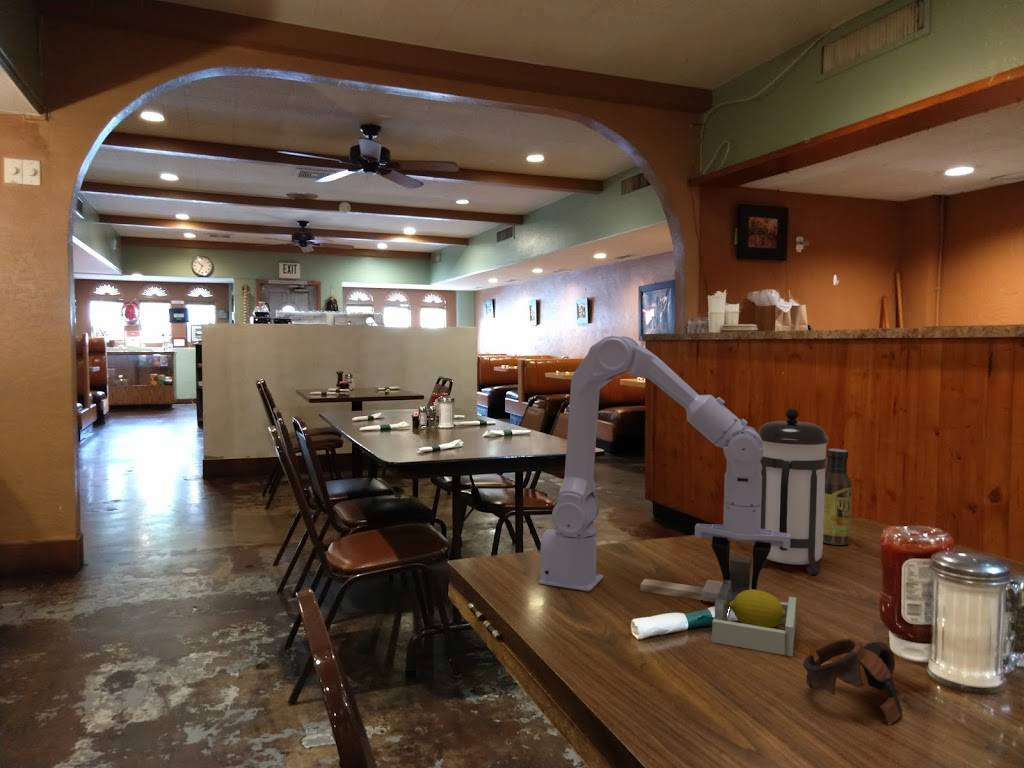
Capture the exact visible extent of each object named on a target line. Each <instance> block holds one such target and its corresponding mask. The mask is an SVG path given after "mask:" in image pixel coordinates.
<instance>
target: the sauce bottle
mask: <svg viewBox="0 0 1024 768" xmlns="http://www.w3.org/2000/svg"><path fill="white" fill-rule="evenodd" d="M826 457H827V467H826V470H827V471H825V494H824V524H823V544H824V543H825V544H829V545H834V546H843V545H844V546H845V545H848V544H849V542H850V536H851V519H852V503H853V483H852V479H851V478H850V476H849V474H848V473H847V471H848V469H847V467H848V459H849V450H846V449H842V448H828V449H827V450H826Z"/></svg>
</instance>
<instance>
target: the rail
mask: <svg viewBox="0 0 1024 768" xmlns="http://www.w3.org/2000/svg"><path fill="white" fill-rule="evenodd" d="M703 588H704V586H698V585H697V586H696V585H689V584H682V583H676V582H671V581H670V582H669V581H661V580H657V579H651V578H650V579H649V578H644V579H643V580H642V582H640V587H639V589H640V592H645V593H651V594H658V595H663V596H668V597H669V596H670V597H676V598H682V597H683V598H682V599H688V598H689V600H694V599H695V600H696V601H701V600H703V601H702V602H707V601H710V602H709V603H714V602H715V601H716V598H712V597H705V596H702V590H703Z"/></svg>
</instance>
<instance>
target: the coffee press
mask: <svg viewBox="0 0 1024 768" xmlns="http://www.w3.org/2000/svg"><path fill="white" fill-rule="evenodd" d="M785 416H786V418H787V420H776V421H769V422H766V423H764V424H763V425H761V426H760V427H759V429H758V432H757V433H758V434H759V435H760V437H761V439H762V442H763V450H764V454H763V457H762V459H761V460H760V463H761V465H762V470H761V472H760V474H761V475H762V499H761V529H766V530H771V531H776V532H782V533H789V534H790V548H789V549H788V548H783V547H781V546H773V545H771V549H770V553H769V555H768V556H767V558H766V560H765V562H764V564H763V566H762V568H764V567H765V566H766V564H767V563H768V562H772V561H773V562H775V563H776V562H777V563H781V564H785V565H787V564H788V565H800V566H802V567H803V568H804V569H805V570H806V572H807V574H808V575H809V576H816V575H819V574H820V569H819V567H818V565H817V562H821V561H822V558H823V557H822V556H823V547H824V545H823V544H824V542H823V524H824V494H825V474H826V469H827V467H828V456H827V445H828V443H829V440H830V439H829V436H827V434H826V431H825V429H823V428H822V427H821V426H820V425H818V424H815V423H812V422H807V421H800V420H799V421H798V420H797V419H798V418H799V416H800V414H799V411H798V410H797V409H796V408H793V407H792V408H789V409H787V410H786V412H785Z"/></svg>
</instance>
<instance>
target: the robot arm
mask: <svg viewBox="0 0 1024 768" xmlns="http://www.w3.org/2000/svg"><path fill="white" fill-rule="evenodd" d="M626 373H628V375H629V376H633V377H638V378H643V379H648V380H649V381H651V382H652V384H654V385H656V386H657V387H658V388H660V390H662V391H663V392H664V393H665V394H667V395H668V396H669V397H671V399H673V400H674V401H675V402H676V403H677V404H679V405H680V406H681V407H683V408H684V409H685V412H686V421H687V422H688V423H689V424H690V425H691V426H692V427H694V428H695V430H697V431H698V432H699V433H700V434H702V436H704V438H706V439H707V440H708V441H710V442H711V443H712V444H714V445H713V446H715V447H717V448H718V447H719V448H722V449H723V454H724V457H725V460H726V468H725V469H726V470H725V471H726V472H725V473H724V483H723V484H724V485H723V491H724V492H723V524H719V523H718V524H717V523H715V524H714V523H710V524H709V523H699V522H698V523H696V524H695V526H694V538H696V539H702V538H705V539H707V538H708V539H712V541H711V548H712V551H713V552H714V555H715V558H716V559H717V562H718V565H719V568H720V570H721V574H722V582H723V581H724V580H730V552H731V542H733V541H734V542H740V543H750V544H754V545H753V547H752V574H751V590H758V589H757V587H758V580H759V576H760V573H761V572H762V568H763V567H762V566H763V564H764V562H765V560H766V558H767V556H768V555H769V553H770V549H771V545H773V546H781V547H783V548H788V549H789V548H790V534H789V533H782V532H776V531H771V530H766V529H761V499H762V475H761V474H760V472H761V470H762V465H761V463H760V460H761V459H762V457H763V454H764V450H763V442H762V439H761V437H760V435H759V434H758V432H757V430H756V428H754V427H752V426H748V425H747V424H748V421H747V420H746V419H745V418H742V419H740V418H738V416H737V415H735V414H734V413H733V412H732V411H731V410H730V409H728V408H727V407H726V406H725V405H724V404H725V400H724V399H723V398H721V397H720V396H718V397H717V398H715V397H714V396H713V395H712V394H698V392H697V391H696V390H694V389H693V388H692V387H691V386H690V385H689V384H688V383H687V382H685V381H684V380H683V378H681V377H680V375H678V374H677V373H676V372H675V371H674V370H673V369H672V368H670V367H669V366H668V365H667V364H666V363H665V362H664V361H663V360H662V359H660V358H659V357H658V356H657V355H656V354H654V353H653V352H651V351H650V350H649V349H647V347H644V346H643V345H639V344H638V342H637V341H636V340H634V339H633V338H631V337H628V336H618V335H609V336H608V335H607V336H606V337H604V338H602V339H600V340H599V341H597V342H596V343H594V344H593V345H591V346H590V348H589V350H588V352H587V354H586V356H585V357H584V359H582V361H581V362H580V364H579V365H578V367H576V370H575V371H574V372H573V374H572V377H571V381H570V392H569V393H570V395H569V406H568V407H569V408H568V422H567V423H568V424H567V435H566V436H567V437H566V448H565V465H564V478H563V481H562V483H561V485H560V488H559V492H558V498H557V502H556V504H555V505H554V507H553V510H552V513H551V521H552V524H553V526H554V527H555V529H554V528H547V529H546V530H545V531H544V533H543V534H542V536H541V542H540V552H539V553H540V565H539V567H540V570H539V572H540V573H539V576H540V577H539V578H540V579H539V580H538V584H541V585H548V586H554V587H559V588H565V589H571V590H578V591H583V592H584V591H585V592H591V591H592V590H593V589H594V588H595V587H596V586H597V585H598V584H599V583H600V581H602V579H603V578H604V575H603V574H600V573H599V574H598V573H597V528H596V527H595V524H594V521H595V520H596V519H597V517H598V515H599V512H600V504H599V501H598V498H597V495H596V482H595V478H594V474H595V473H594V472H595V460H596V459H595V457H596V447H597V446H596V443H597V441H596V440H597V433H598V432H597V430H598V418H599V403H600V391H601V389H602V388H603V387H604V386H607V384H609V383H610V382H611V381H612V380H613V379H615V378H616V377H618V376H621V375H624V374H626Z"/></svg>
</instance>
